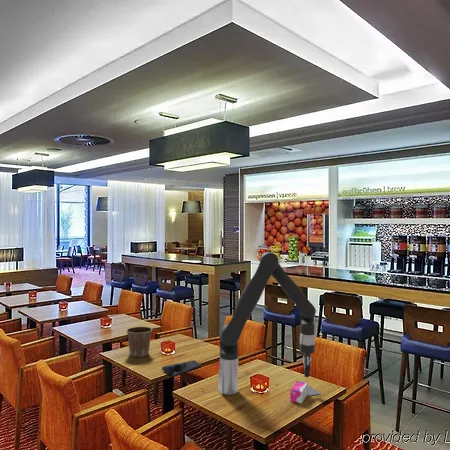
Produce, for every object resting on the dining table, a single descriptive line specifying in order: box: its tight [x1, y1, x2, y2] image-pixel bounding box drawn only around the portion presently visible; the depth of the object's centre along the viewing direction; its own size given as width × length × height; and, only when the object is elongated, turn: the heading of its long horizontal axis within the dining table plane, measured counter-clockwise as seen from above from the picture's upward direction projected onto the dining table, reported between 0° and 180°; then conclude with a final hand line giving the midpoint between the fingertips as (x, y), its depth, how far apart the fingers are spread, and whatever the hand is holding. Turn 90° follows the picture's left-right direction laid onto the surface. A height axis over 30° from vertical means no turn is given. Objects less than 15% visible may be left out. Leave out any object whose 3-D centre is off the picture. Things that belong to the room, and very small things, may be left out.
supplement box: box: [289, 380, 309, 404], centre depth 198 cm, size 6×6×12 cm
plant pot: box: [126, 326, 153, 358], centre depth 260 cm, size 16×16×16 cm
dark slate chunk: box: [160, 360, 202, 377], centre depth 236 cm, size 15×22×5 cm
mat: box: [306, 385, 321, 397], centre depth 206 cm, size 10×10×1 cm
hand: (306, 376), depth 205 cm, fingers closed
